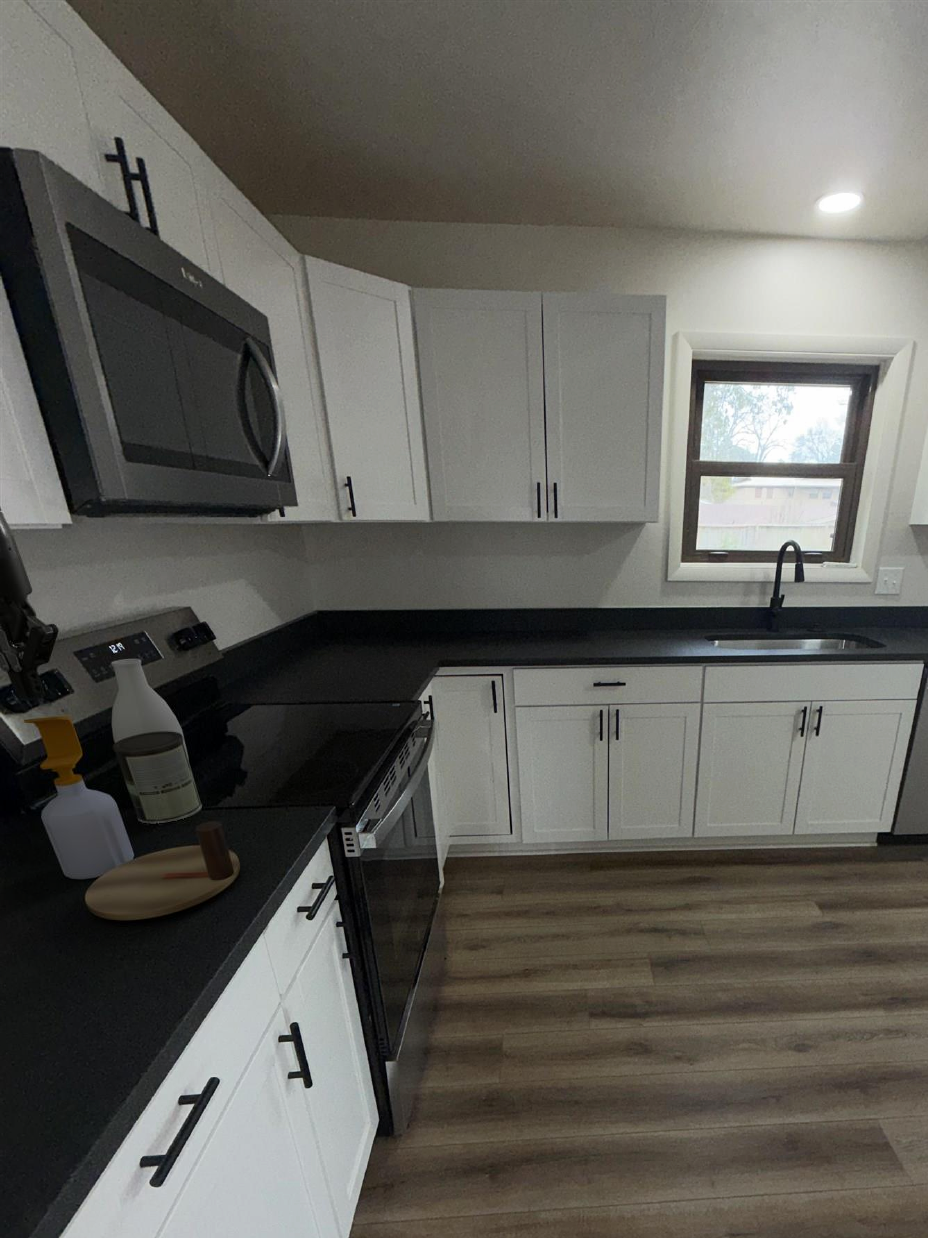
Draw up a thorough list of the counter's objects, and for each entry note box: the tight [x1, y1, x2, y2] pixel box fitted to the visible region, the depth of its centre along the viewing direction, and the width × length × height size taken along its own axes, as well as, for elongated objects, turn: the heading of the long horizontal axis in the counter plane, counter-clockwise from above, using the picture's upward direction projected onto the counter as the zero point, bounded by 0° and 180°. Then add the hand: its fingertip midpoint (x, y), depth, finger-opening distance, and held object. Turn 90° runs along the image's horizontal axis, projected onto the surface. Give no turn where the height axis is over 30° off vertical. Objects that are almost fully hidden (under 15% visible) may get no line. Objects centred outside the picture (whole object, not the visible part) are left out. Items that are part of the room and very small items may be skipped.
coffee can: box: [112, 731, 203, 825], centre depth 115 cm, size 10×10×14 cm
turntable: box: [84, 820, 241, 921], centre depth 92 cm, size 19×19×9 cm
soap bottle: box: [23, 716, 135, 880], centre depth 95 cm, size 9×9×25 cm
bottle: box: [110, 658, 190, 762], centre depth 123 cm, size 11×11×25 cm
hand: (32, 698), depth 82 cm, fingers closed
